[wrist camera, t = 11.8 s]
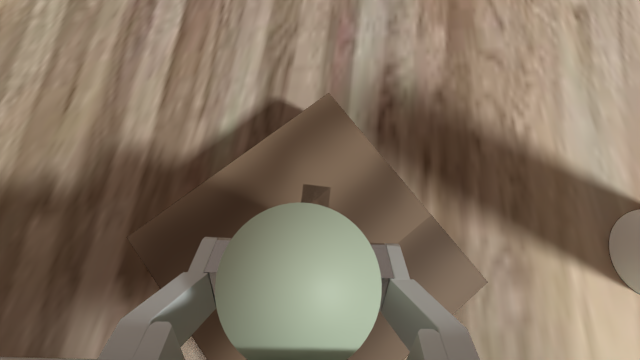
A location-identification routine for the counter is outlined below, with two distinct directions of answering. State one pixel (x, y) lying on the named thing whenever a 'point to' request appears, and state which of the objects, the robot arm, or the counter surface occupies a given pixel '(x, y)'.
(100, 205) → the counter surface
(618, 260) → the cylindrical container
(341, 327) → the peg
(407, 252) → the socket block
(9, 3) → the counter surface
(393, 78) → the counter surface
